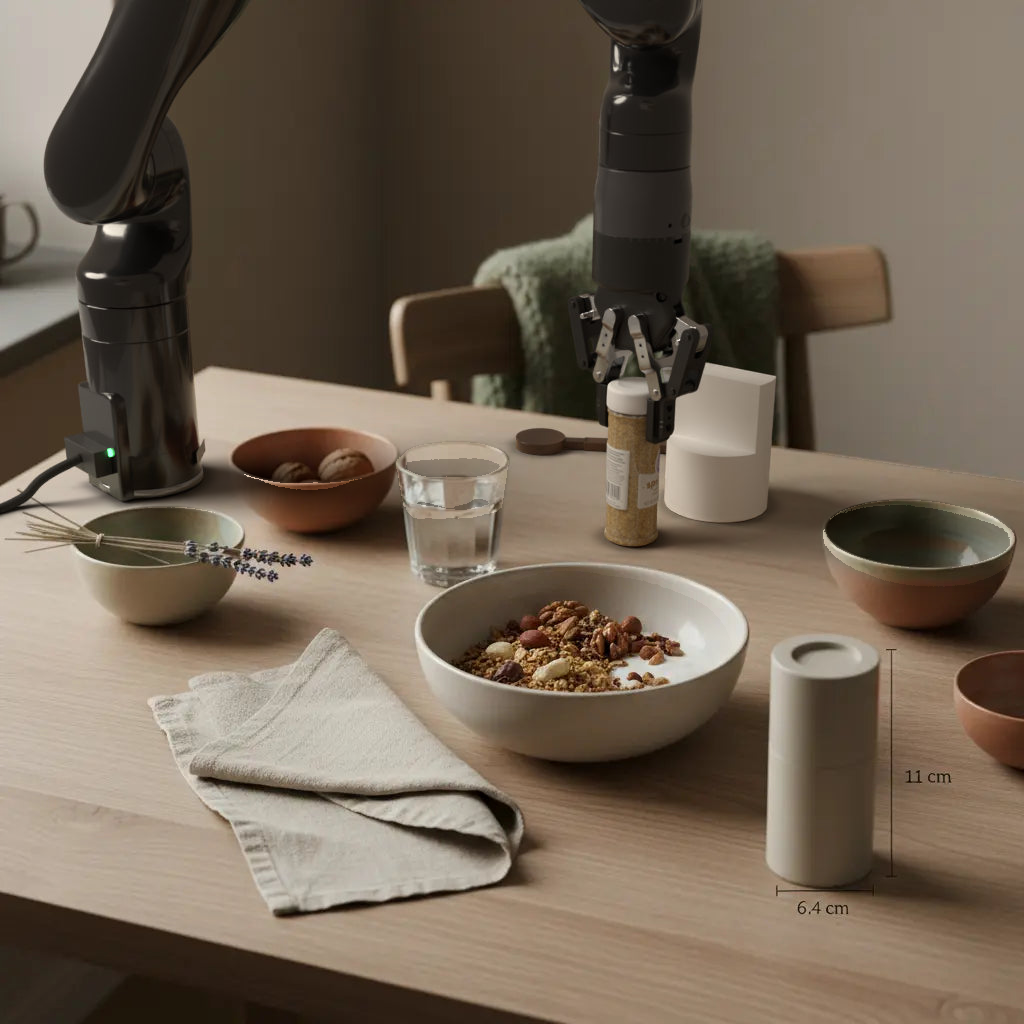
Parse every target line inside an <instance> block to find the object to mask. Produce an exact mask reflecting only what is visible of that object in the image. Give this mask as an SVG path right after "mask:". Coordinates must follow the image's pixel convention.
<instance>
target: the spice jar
mask: <svg viewBox="0 0 1024 1024" xmlns="http://www.w3.org/2000/svg"><path fill="white" fill-rule="evenodd" d="M650 398H651V397H650V395H649V390H648V385H647V380H646V377H641V376H625V377H620V378H619V379H616V380H613V381H611V382H610V383H609V384H608V387H607V406H608V412H609V416H608V429H607V438H608V440H607V451H606V467H605V469H606V470H605V471H606V473H605V475H606V476H605V502H606V506H605V507H606V510H605V511H606V512H605V516H606V517H605V519H606V521H605V527H604V530H603V534H604V537H605V538H606V539H607V540H608V541H610V542H611V543H614V544H615V545H619V546H622V547H642V546H645V545H648V544H651V543H653V542H654V541H655V540H656V539H657V538H658V535H659V531H658V502H659V494H660V493H659V491H660V460H661V459H660V458H661V453H660V448H659V444H660V443H658V444H652V443H650V442H647V441H646V421H647V399H650Z"/></svg>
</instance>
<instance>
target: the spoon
mask: <svg viewBox="0 0 1024 1024" xmlns="http://www.w3.org/2000/svg"><path fill="white" fill-rule="evenodd" d="M607 440H608V437H590V436H589V437H588V436H587V437H567V436H566V434H565V433H563V432H562V431H560V430H557V429H553V428H546V427H533V428H527V429H523V430H520V431H519V432H517V433H516V434H515V448H516V449H517V451H520V452H522V453H525V454H529V455H539V456H546V455H554V454H557V453H560V452H562V451H563V450H583V451H591V452H592V451H595V452H596V451H597V452H607ZM659 448H660V454H666V449H667V441H664V442H661V443H660V444H659Z"/></svg>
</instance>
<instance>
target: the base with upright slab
mask: <svg viewBox="0 0 1024 1024" xmlns="http://www.w3.org/2000/svg"><path fill="white" fill-rule="evenodd" d="M776 384H777V376H776V375H772V374H766V373H763V372H762V373H761V372H756V371H752V370H746V369H741V368H736V367H731V366H726V365H725V366H724V365H721V364H716V363H711V362H706V364H705V367H704V371H703V374H702V378H701V381H700V384H699V388H698V390H697V391H696V392H693V393H689V394H686V395H683V396H680V397H678V398H676V406H675V422H674V423H675V427H674V432H673V434H672V435H670V438H669V439H668V440H667V449H666V453H665V473H664V474H665V476H664V492H663V493H664V497H663V501H664V504H665V506H666V507H667V508H668V509H669V510H670V511H671V512H673V513H675V514H677V515H679V516H681V517H684V518H686V519H687V518H688V519H690V520H695V521H700V522H706V523H708V522H709V523H718V524H719V523H736V522H743V521H747V520H751V519H754V518H757V517H760V515H762V514H763V513H764V512H765V511H766V510H767V508H768V499H769V498H768V497H769V483H770V471H771V470H770V469H771V456H772V445H773V442H772V441H773V440H772V438H773V424H774V412H775V400H776V399H775V397H776Z"/></svg>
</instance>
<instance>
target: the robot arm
mask: <svg viewBox="0 0 1024 1024" xmlns="http://www.w3.org/2000/svg"><path fill="white" fill-rule="evenodd" d="M251 2H252V0H116V1H115V3H114V6H113V8H112V11H111V14H110V16H109V19H108V21H107V24H106V26H105V29H104V31H103V33H102V35H101V39H100V40H99V42H98V43H97V46H96V48H95V51H94V52H93V55H92V57H91V59H90V61H89V62H88V64H87V66H86V68H85V70H84V71H83V73H82V75H81V77H80V78H79V80H78V82H77V84H76V86H75V88H74V89H73V91H72V93H71V95H70V97H68V100H67V102H66V103H65V105H64V107H63V109H62V110H61V112H60V114H59V116H58V117H57V119H56V121H55V123H54V125H53V127H52V129H51V131H50V133H49V136H48V138H47V141H46V145H45V149H44V155H43V176H44V181H45V186H46V190H47V191H48V194H49V197H50V199H51V201H52V202H53V203H54V205H55V207H56V208H57V209H58V210H59V212H61V213H62V214H63V215H64V216H65V217H67V218H68V219H69V220H72V221H73V222H75V223H78V224H81V225H85V226H96V231H95V234H94V237H93V241H92V242H91V245H90V246H89V248H88V250H87V252H86V253H85V255H83V257H82V258H81V260H80V261H79V263H78V265H77V266H76V269H75V286H76V296H77V303H78V312H79V320H80V330H81V340H82V348H83V357H84V358H83V359H84V366H85V374H86V380H83V381H80V382H79V383H78V387H77V388H78V398H79V406H80V415H81V423H82V432H80V433H76V434H72V435H67V436H64V437H63V442H64V449H65V454H66V455H65V457H66V459H64V460H62V461H60V462H58V463H56V464H54V465H51V466H50V467H49V468H47V469H46V470H44V471H42V472H41V473H40V474H38V475H37V476H35V478H33V480H31V482H30V483H29V484H28V485H27V487H26V488H25V489H24V490H23V491H21V492H20V493H19V494H17V495H15V496H14V497H11V498H9V499H7V500H5V501H3V502H1V503H0V514H4V513H7V512H10V511H12V510H13V509H17V508H18V507H20V506H22V505H24V504H25V503H27V502H28V501H30V500H31V499H32V498H33V497H34V496H35V494H36V493H37V492H38V491H39V490H40V489H41V487H42V486H43V485H44V484H47V482H49V481H51V480H52V479H53V478H55V477H57V476H58V475H61V474H63V473H64V472H67V471H68V470H71V469H73V468H77V469H78V470H81V471H82V472H84V473H86V474H87V475H88V483H89V484H90V485H93V486H94V487H96V488H98V489H99V490H101V491H103V492H104V493H106V494H108V495H110V496H113V497H114V498H115V499H116V500H119V501H121V502H126V501H129V500H135V499H150V498H151V499H152V498H160V497H165V496H170V495H175V494H178V493H179V494H180V493H182V492H184V491H187V490H190V489H191V488H194V487H195V486H197V485H198V484H200V482H201V481H202V480H203V478H204V466H203V464H202V459H203V456H204V454H205V453H206V439H205V438H203V440H202V441H201V443H200V431H199V430H200V429H199V419H198V407H197V406H198V405H197V395H196V383H195V371H194V370H195V369H194V360H193V359H194V358H193V348H192V347H193V346H192V336H191V335H192V334H191V321H190V310H189V309H190V308H189V298H188V286H187V274H188V270H189V266H190V264H191V261H192V260H191V259H192V256H193V249H194V248H193V247H194V246H193V245H194V243H193V242H194V241H193V240H194V239H193V238H194V237H193V235H194V234H193V210H192V209H193V208H192V184H191V172H190V171H191V170H190V162H189V156H188V152H187V151H188V150H187V147H186V144H185V140H184V138H183V136H182V134H181V132H180V130H179V128H178V126H177V124H176V123H175V122H174V120H173V119H172V118H171V116H169V114H168V112H170V108H171V106H172V105H173V102H174V101H175V99H176V97H177V95H178V94H179V93H180V90H181V89H182V88H183V87H184V85H185V84H186V82H187V81H188V80H189V78H190V77H191V76H192V74H194V73H195V71H196V70H197V69H198V68H199V66H200V65H201V64H202V63H203V62H204V60H205V59H206V58H207V57H208V56H209V55H211V53H212V51H213V50H214V49H215V48H216V47H217V46H218V45H219V44H220V42H222V40H223V39H224V38H225V36H227V34H228V33H229V32H230V31H231V29H232V28H233V27H234V26H235V24H236V23H237V21H238V20H239V19H240V18H241V16H242V15H243V13H244V12H245V10H246V9H247V8H248V6H249V5H250V3H251ZM577 2H579V3H580V5H581V7H582V8H583V10H584V11H585V12H586V13H587V14H588V16H589V17H590V18H591V20H593V21H594V23H595V24H596V25H597V26H598V27H599V28H600V29H601V30H602V31H603V32H604V33H605V34H606V35H607V36H608V37H609V38H610V44H609V70H608V71H609V73H608V81H607V84H606V87H605V89H604V91H603V94H602V97H601V100H600V101H601V102H600V107H599V116H598V146H597V147H598V148H597V162H598V163H597V171H596V176H595V177H596V178H595V182H594V190H593V211H592V213H593V215H592V216H593V217H592V219H593V220H592V223H593V224H592V252H591V253H592V254H591V258H592V259H591V279H592V281H593V283H594V284H595V285H597V288H596V291H595V292H593V291H592V292H588V293H583V294H580V295H576V296H571V297H569V298H568V299H567V310H568V315H569V321H570V326H571V332H572V339H573V344H574V350H575V356H576V361H577V365H578V368H579V369H580V370H582V371H585V370H587V371H588V372H590V373H591V374H592V377H593V380H594V381H595V382H596V401H595V403H596V405H595V411H596V416H597V418H598V424H599V425H600V426H601V427H605V428H606V429H607V428H608V416H609V412H608V406H607V387H608V384H609V383H610V382H611V381H613V380H616V379H619V378H621V377H623V376H624V374H625V370H626V367H627V364H628V361H629V358H630V356H631V355H632V354H634V355H636V358H637V362H638V367H639V370H640V372H641V373H643V374H644V375H645V378H646V380H647V385H648V390H649V395H650V397H651V398H650V399H647V421H646V441H647V442H650V443H652V444H658V443H661V442H664V441H667V440H668V439H669V438H670V435H672V434H673V432H674V427H675V423H674V422H675V406H676V398H678V397H680V396H683V395H686V394H689V393H693V392H696V391H697V390H698V388H699V384H700V381H701V378H702V374H703V371H704V367H705V364H706V363H707V360H708V357H709V353H710V350H711V346H712V344H713V340H714V336H715V328H714V326H713V325H712V324H710V323H709V322H708V323H703V324H699V323H697V322H696V321H694V320H693V319H691V318H690V317H688V316H687V310H686V308H685V306H684V305H685V304H684V301H683V293H684V290H685V288H686V286H687V284H688V282H689V278H690V261H691V259H690V258H691V240H692V219H693V202H694V201H693V196H694V195H693V181H692V165H691V164H692V147H693V128H694V112H693V111H694V110H693V94H694V91H693V90H694V82H695V77H696V71H697V65H698V56H699V49H700V42H701V34H702V25H703V13H704V12H703V11H704V0H577ZM676 335H677V337H676ZM589 340H591V346H592V352H591V347H590V342H589ZM658 353H662V354H661V356H660V357H657V358H655V357H654V355H655V354H658ZM661 371H662V373H661ZM662 375H663V379H662Z"/></svg>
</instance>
